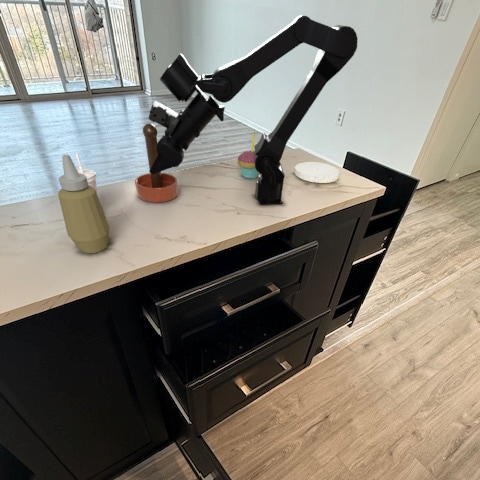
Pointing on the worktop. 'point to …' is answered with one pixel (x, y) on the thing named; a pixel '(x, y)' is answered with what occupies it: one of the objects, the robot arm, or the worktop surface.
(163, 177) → the bowl
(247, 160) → the cupcake
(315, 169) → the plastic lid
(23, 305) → the worktop surface
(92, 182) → the smoothie
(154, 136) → the muddler
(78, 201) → the squeeze bottle
